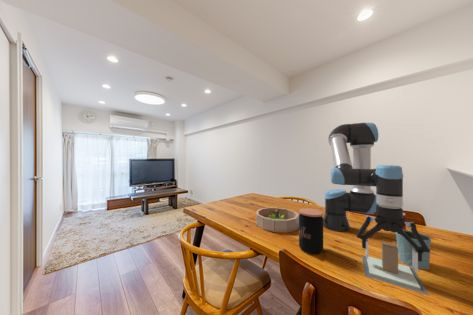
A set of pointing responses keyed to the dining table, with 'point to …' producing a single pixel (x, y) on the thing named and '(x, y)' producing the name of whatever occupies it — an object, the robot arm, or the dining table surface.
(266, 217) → the plant
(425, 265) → the blue pot
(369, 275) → the mat
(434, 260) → the dining table surface
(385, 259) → the lid
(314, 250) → the coffee jar
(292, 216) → the cachepot ring
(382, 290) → the dining table surface
